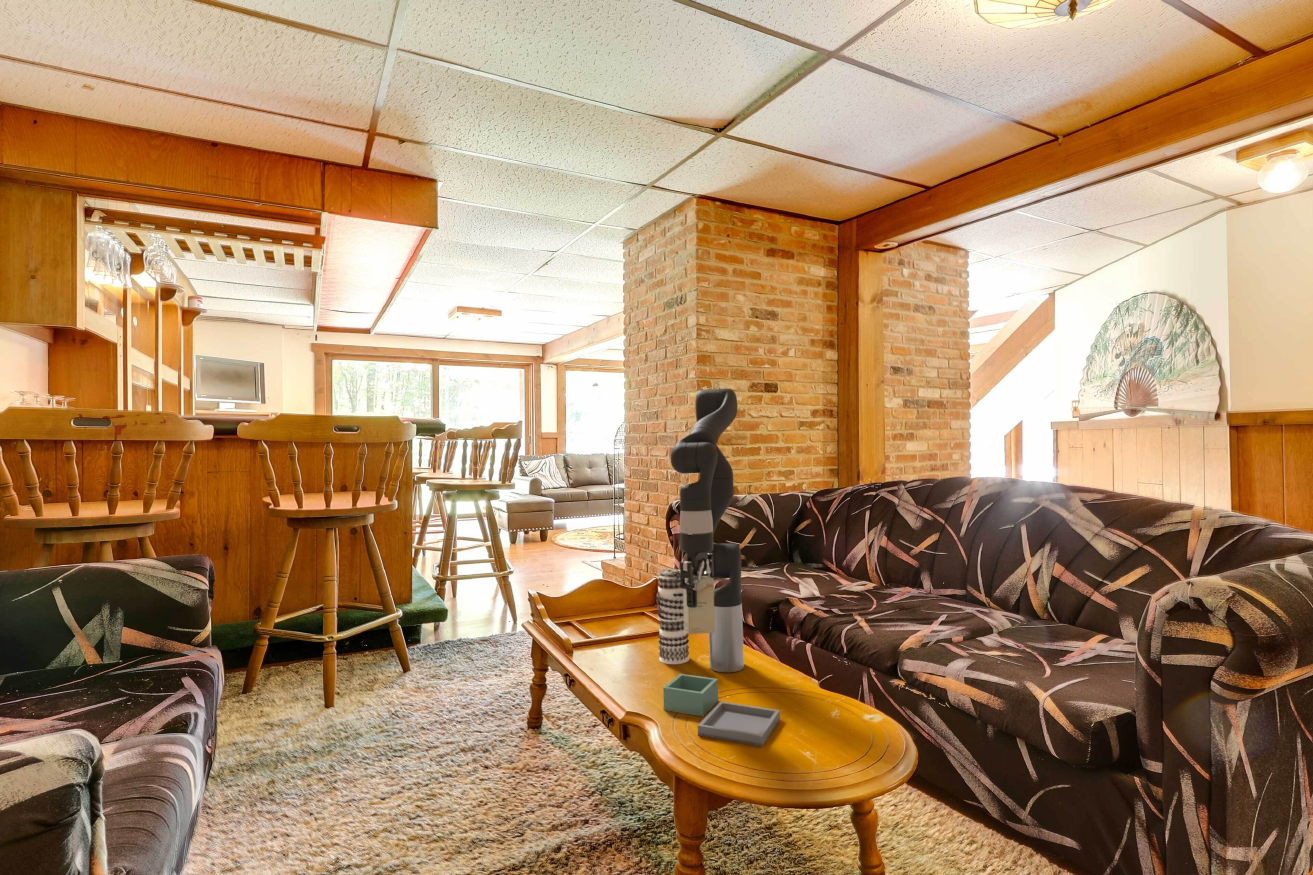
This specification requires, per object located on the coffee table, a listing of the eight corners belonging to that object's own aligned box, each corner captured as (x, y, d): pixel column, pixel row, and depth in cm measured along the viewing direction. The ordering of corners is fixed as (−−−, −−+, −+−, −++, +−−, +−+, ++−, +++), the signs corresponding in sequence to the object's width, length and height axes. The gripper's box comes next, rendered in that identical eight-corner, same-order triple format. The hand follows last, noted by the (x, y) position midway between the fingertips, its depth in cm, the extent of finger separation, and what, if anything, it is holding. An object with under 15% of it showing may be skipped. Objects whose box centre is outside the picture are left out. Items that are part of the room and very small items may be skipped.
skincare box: (689, 635, 139) (687, 580, 140) (683, 630, 144) (681, 576, 144) (715, 632, 141) (714, 578, 141) (709, 627, 145) (707, 574, 145)
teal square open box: (680, 694, 151) (680, 673, 151) (718, 700, 147) (717, 678, 147) (663, 709, 143) (663, 687, 143) (703, 716, 139) (702, 693, 139)
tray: (720, 710, 142) (720, 701, 142) (780, 719, 136) (779, 710, 136) (697, 735, 129) (697, 725, 129) (762, 746, 123) (761, 736, 123)
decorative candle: (691, 653, 182) (688, 567, 182) (689, 664, 172) (686, 573, 173) (659, 653, 183) (657, 567, 183) (656, 664, 173) (653, 573, 174)
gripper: (693, 526, 151) (695, 595, 150) (667, 533, 138) (670, 609, 138) (723, 527, 148) (725, 597, 147) (699, 534, 135) (701, 611, 134)
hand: (698, 603), depth 142 cm, fingers closed on skincare box, 7 cm apart
